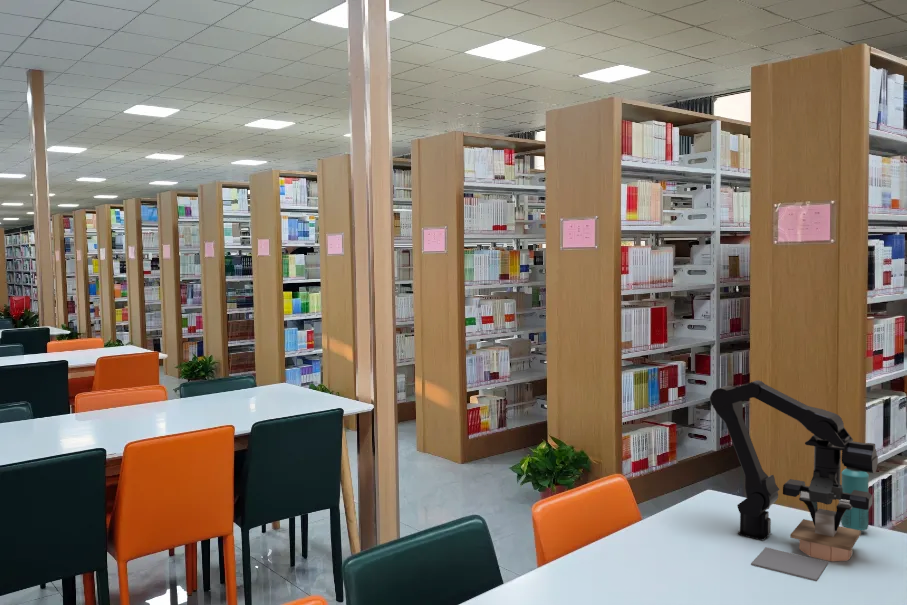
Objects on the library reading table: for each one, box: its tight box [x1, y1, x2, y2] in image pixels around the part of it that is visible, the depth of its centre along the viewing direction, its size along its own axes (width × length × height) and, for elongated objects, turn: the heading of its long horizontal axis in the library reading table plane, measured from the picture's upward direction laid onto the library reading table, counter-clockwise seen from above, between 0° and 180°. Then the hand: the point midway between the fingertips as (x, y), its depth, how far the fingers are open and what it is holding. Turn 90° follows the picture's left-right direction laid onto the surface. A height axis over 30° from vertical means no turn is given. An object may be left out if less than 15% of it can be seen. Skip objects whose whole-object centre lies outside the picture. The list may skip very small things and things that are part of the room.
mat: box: [750, 547, 829, 582], centre depth 166 cm, size 14×12×1 cm
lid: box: [789, 508, 862, 551], centre depth 172 cm, size 13×13×6 cm
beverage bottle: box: [840, 467, 870, 531], centre depth 185 cm, size 6×7×20 cm
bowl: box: [799, 540, 853, 562], centre depth 173 cm, size 11×11×4 cm
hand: (825, 528), depth 172 cm, fingers closed on lid, 4 cm apart
